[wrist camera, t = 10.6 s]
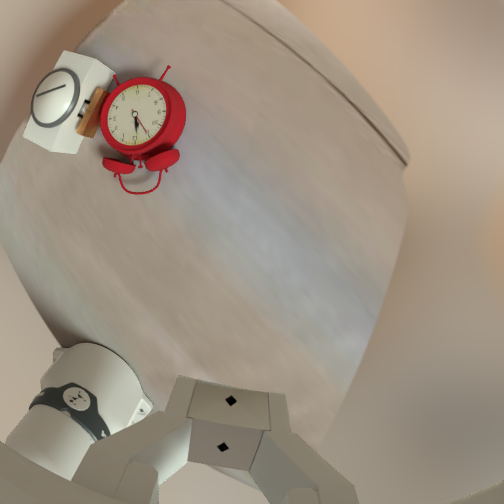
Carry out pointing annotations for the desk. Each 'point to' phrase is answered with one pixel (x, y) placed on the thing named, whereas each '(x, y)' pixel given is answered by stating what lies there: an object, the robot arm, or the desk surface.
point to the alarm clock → (143, 125)
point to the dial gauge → (65, 101)
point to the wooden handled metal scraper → (92, 114)
